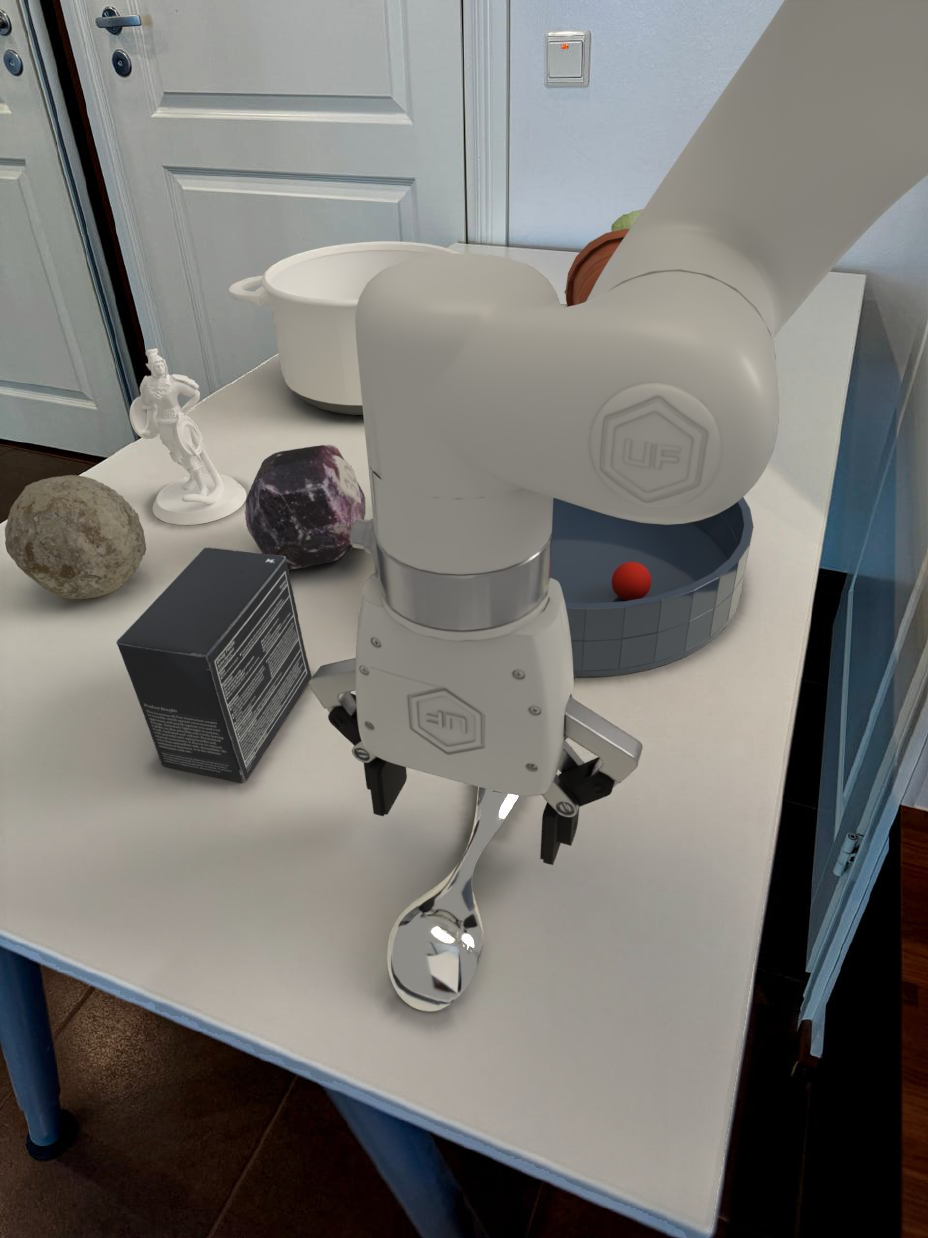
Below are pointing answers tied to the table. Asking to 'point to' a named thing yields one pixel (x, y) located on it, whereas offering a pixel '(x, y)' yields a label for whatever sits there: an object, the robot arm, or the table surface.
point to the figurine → (181, 449)
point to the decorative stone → (75, 536)
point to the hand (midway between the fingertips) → (470, 819)
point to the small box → (218, 662)
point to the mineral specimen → (304, 506)
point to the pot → (324, 314)
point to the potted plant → (595, 260)
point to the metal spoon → (445, 923)
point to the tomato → (631, 581)
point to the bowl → (678, 597)
